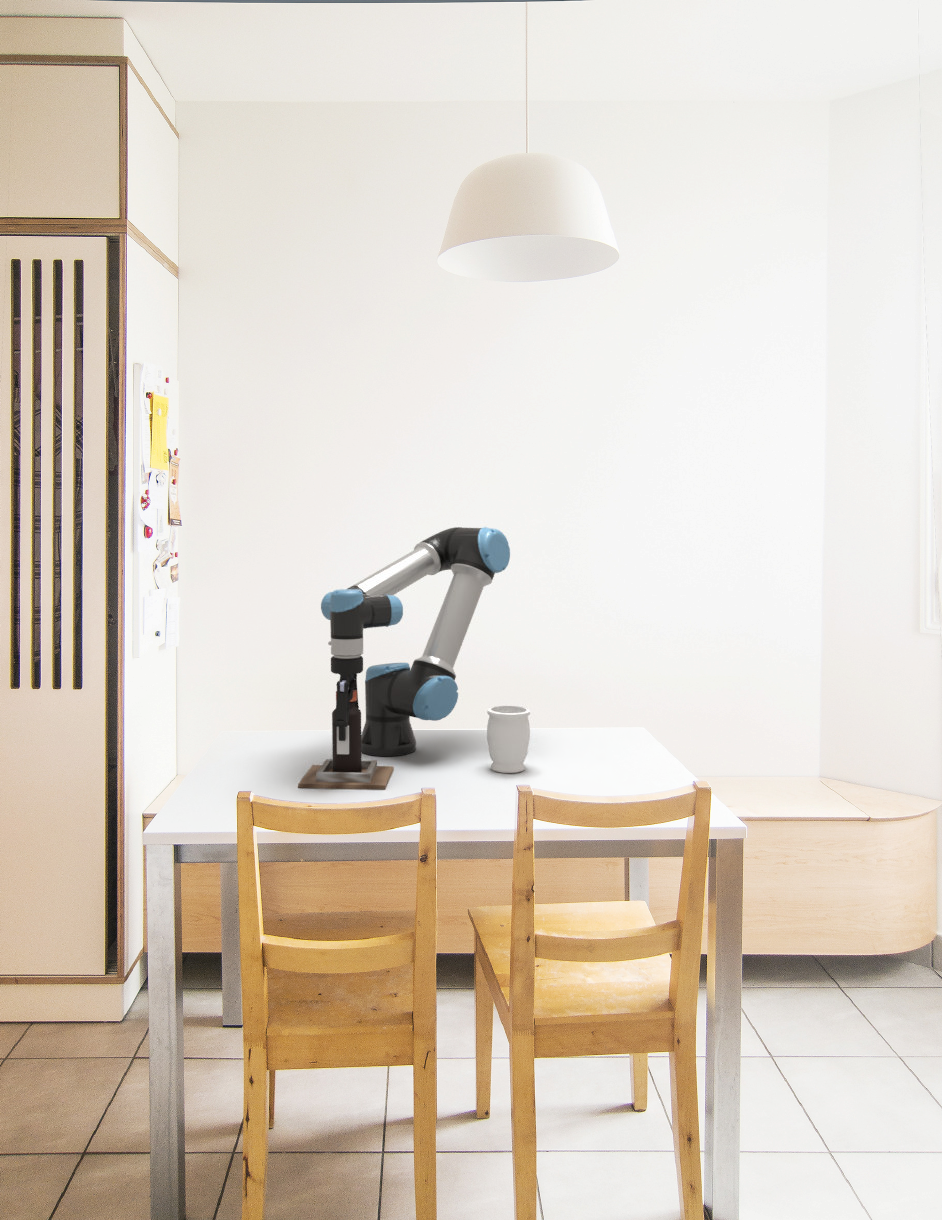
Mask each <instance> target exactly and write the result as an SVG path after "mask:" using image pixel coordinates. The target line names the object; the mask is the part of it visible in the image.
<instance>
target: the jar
mask: <svg viewBox="0 0 942 1220" xmlns="http://www.w3.org/2000/svg"><path fill="white" fill-rule="evenodd" d="M487 715H489V717H488V721H487V725H486V740H487V746H488V753H489V756H490V760H491V761H492V763H491V764H490V768H491V770H492V771H494V772H496V773H497V772H498V773H502V774H515V773H520V772H523V771H525V769H526V766H525V764H524V762H525V760H526V758H527V755H528V749H529V744H530V739H531V738H530V737H531V727H530V720H529V716H530V715H531V709H530V708H527V707H523V706H518V705H517V706H515V705H497V706H492V707H489V708H487Z"/></svg>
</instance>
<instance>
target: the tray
mask: <svg viewBox="0 0 942 1220" xmlns="http://www.w3.org/2000/svg"><path fill="white" fill-rule="evenodd" d="M394 770H395V768H394V765H393V766H390V765H378V760H377V759H362V773H355V772H333V758H332V759H331V758H326V759H325V761H324V762H323V763H322V764H312V765H311V766H310V767H309V769H308V770H307V772H306V773H305V774H304V776H302V778H301V779H300V781H299V782H298V783H297V787H298V789H330V790H331V789H332V790H333V789H335V790H336V789H337V790H340V789H341V790H380V791H381V790H382V791H383V790H385V791H386V790H387V786H388V784H389V782H390V780H391V777H392V775H393V773H394Z"/></svg>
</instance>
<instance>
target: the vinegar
mask: <svg viewBox="0 0 942 1220" xmlns="http://www.w3.org/2000/svg"><path fill="white" fill-rule="evenodd" d="M357 692H358V690H357V691H356V690H353V698H352V699H351V700H350V707H349V718H348V726H349V754H337V727H333V723H335V715H336V707H335V709H334V710H332V712H331V729H332V730H331V733H332V735H331V737H332V738H331V739H332V740H331V741H332V743H331V745H332V746H331V747H332V748H331V749H332V759H333V772H355V773H362V760H363V759H362V752H361V735H362V712H361V709H358V708H357V707H356V702H357V701H356V700H357ZM336 698H337V690H336V691H335V699H336Z"/></svg>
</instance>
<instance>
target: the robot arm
mask: <svg viewBox="0 0 942 1220" xmlns="http://www.w3.org/2000/svg"><path fill="white" fill-rule="evenodd" d="M510 558H511V548H510V546H509V541H508V539H507V536H506V535H505V534H504V533H503V532H502V531H501V530H499V529H497V528H491V527H487V526H484V527H483V526H482V527H461V526H460V527H458V526H457V527H456V526H455V527H450V528H447V529H444V530H441V531H439V532H438V533H434V534H432V535H431V536H429V537H427V538H425V539H423V540H422V541H420V542H419V543H417V544H416V545H414V548H413V550H412V551H410V552H409V553H407V554H404V555H403V556H402V557H399V558H398V559H397V560H395V561H393V562H391V563H390V564H387V565H386V566H384V567H382V568H380V569H379V570H377V571H375V572H374V573H372V574H371V575H369V576H367V577H365V578H364V579H362V580H360V581H358V582H357V583H355V584H353V585H351V586H349V587H348V588H346V589H342V588H340V589H335V590H333V591H329V592H328V593H326V594H325V595H324V596H323V598H322V599H321V601H320V602H321V603H320V610H321V613H322V616H323V617H324V618H325V619H326V620H328V621H330V622H329V623H330V626H329V627H330V641H328V646H331V647H330V654H331V655H332V656H331V657H330V672H331V673H332V674H335V675H339V680H337V682H336V691H337V698H336V697H335V702H336V703H335V708H336V715H335V723H333V727H337V754H349V726H348V718H349V707H350V700H351V699H352V698H353V690H356V691H357V700H356V701H357V702H356V707H357V708H358V709H359V708H360V707H359V706H360V705H359V695H358V681H357V679H358V678H357V677H358V674H361V673H363V671H364V657H363V656H362V655H363V654H364V629H370V628H371V629H372V628H382V627H385V628H387V627H391V626H395V625H397V624H399V623H400V622H401V621H402V619H403V615H404V605H403V604H402V600H401V599H400V598H399V597H397V596H396V594H397V593H400V592H402V590H404V589H406V588H407V587H409V586H411V585H413V584H414V583H416V582H417V581H420V580H421V579H423V578H425V577H426V576H435V575H437V574H438V573H440V572H443V571H447V570H448V571H449V570H451V572H452V574H453V577H452V578H451V581H450V584H449V586H448V589H447V592H446V594H445V596H444V599H443V601H442V604H441V607H440V609H439V612H438V614H437V617H436V619H435V622H434V624H433V627H432V630H431V632H430V635H429V637H428V639H427V643H426V646H425V648H424V650H423V653H422V655H421V656H420V657H418V658H415V659H414V660H413V661H412V662H413V663H412V664H411V666H410V663H408V662H390V663H380V664H375V665H371V666H369V667H368V668H367V669H366V671H365V681H364V687H365V688H364V691H365V694H364V695H365V698H364V699H365V722H364V726H363V728H362V731H361V754H365V755H369V756H375V757H395V756H398V757H399V756H404V755H407V754H408V755H409V754H411V753H413V752H416V751H417V739H416V736H415V733H414V730H413V727H412V724H411V720H410V717H411V718H417V719H419V720H422V721H436V722H437V721H440V720H443V719H444V718H446V717H448V716H449V715H450V714H451V713H452V711H454V709H455V708H456V705H457V702H458V698H459V692H458V690H459V687H458V684H457V682H456V681H455V680H456V679H457V675H456V672H455V670H454V667H455V664H456V661H457V659H458V657H459V654H460V651H461V649H462V648H461V647H462V645H463V642H464V640H465V637H466V634H467V633H468V629H469V626H470V624H471V621H472V619H473V617H474V614H475V611H476V608H477V606H478V603H479V600H480V597H481V595H482V592H483V591H484V587H486V586H489V585H491V584H492V582H493V580H494V577H495V575H496V574H499V573H502V572H503V571H505V570H506V569H507V567H508V566H509V562H510ZM359 710H360V709H359Z"/></svg>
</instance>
